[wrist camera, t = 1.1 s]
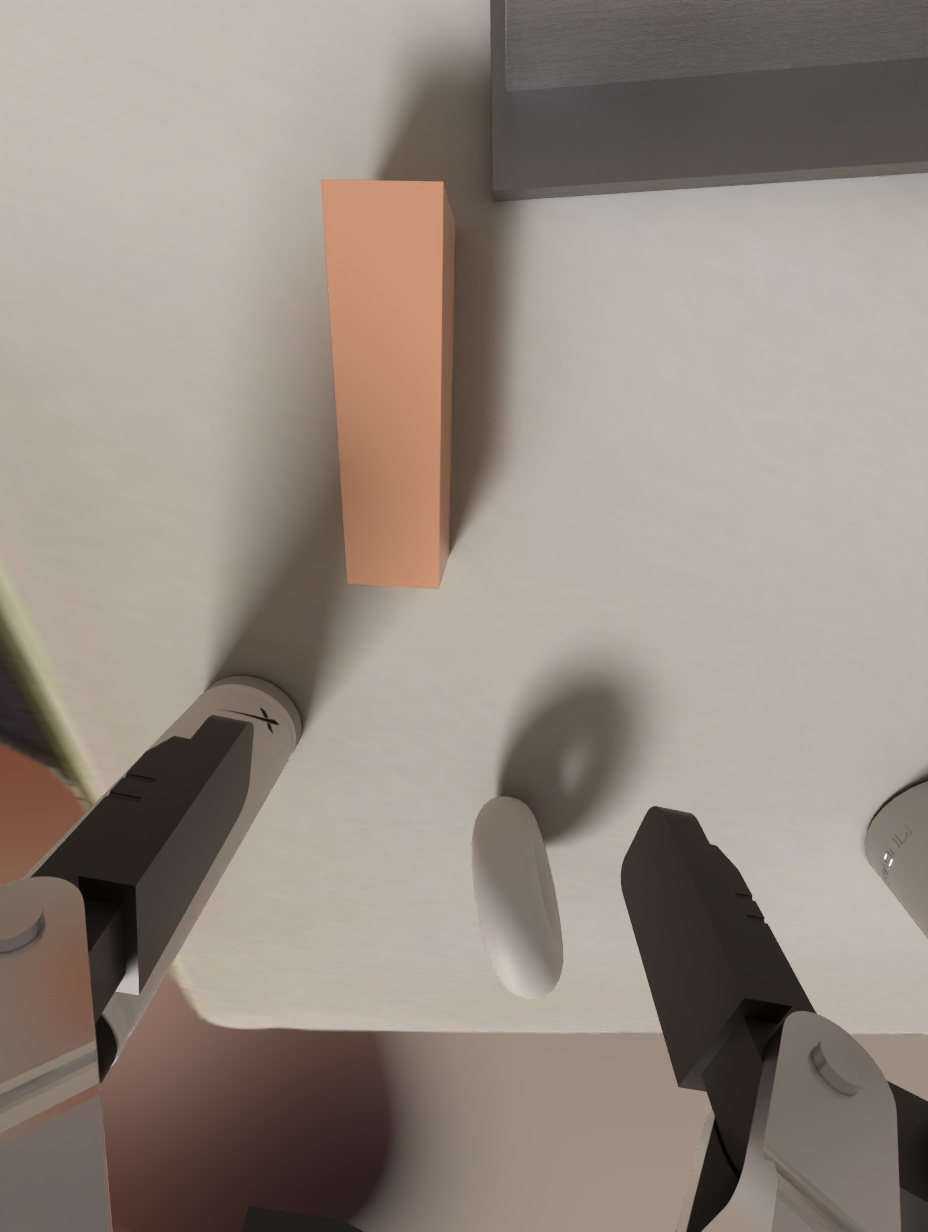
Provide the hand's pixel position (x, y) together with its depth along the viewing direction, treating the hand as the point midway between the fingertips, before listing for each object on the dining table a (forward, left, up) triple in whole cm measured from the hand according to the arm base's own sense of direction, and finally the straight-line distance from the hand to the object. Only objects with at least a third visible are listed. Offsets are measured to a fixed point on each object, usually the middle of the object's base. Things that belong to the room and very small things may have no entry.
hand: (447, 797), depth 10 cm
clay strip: (+3, -7, -18) cm, 19 cm away
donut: (-2, +18, -18) cm, 26 cm away
